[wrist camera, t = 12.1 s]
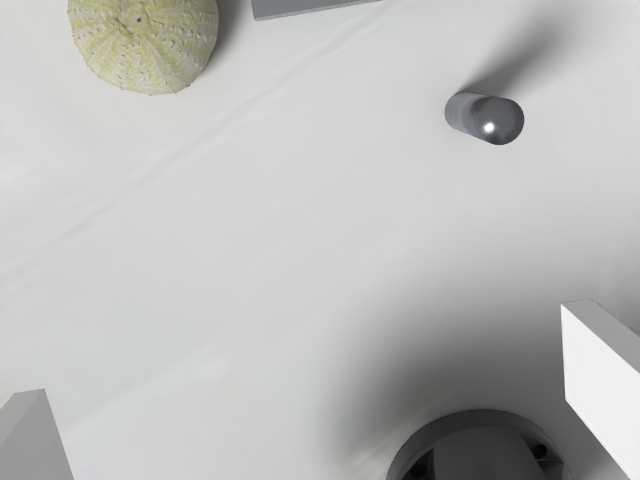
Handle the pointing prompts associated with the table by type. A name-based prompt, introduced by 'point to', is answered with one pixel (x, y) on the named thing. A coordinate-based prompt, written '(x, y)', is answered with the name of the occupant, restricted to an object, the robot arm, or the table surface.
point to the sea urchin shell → (145, 41)
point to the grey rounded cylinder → (485, 117)
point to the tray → (296, 7)
